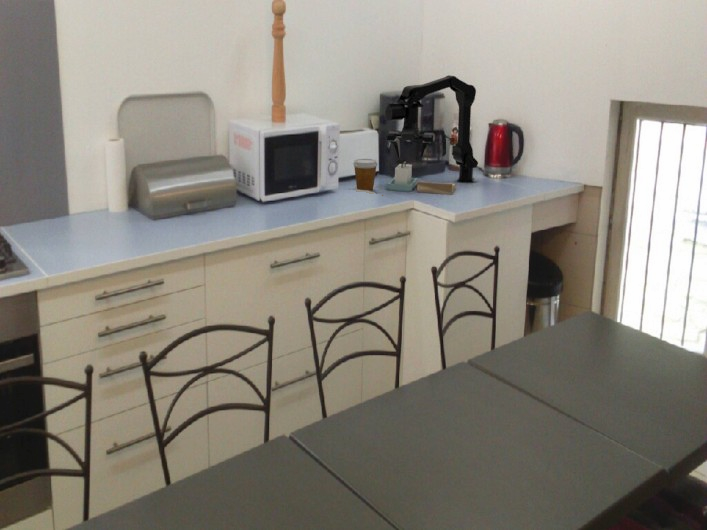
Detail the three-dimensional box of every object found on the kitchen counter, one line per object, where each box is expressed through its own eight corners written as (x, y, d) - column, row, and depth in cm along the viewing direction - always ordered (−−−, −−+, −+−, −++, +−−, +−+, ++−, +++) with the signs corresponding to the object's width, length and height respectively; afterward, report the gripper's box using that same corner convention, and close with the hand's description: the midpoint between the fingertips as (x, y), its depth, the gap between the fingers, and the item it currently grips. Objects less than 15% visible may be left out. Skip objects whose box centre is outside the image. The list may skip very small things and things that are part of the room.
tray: (394, 182, 314) (394, 176, 314) (417, 184, 312) (417, 178, 311) (387, 189, 302) (387, 183, 301) (411, 191, 300) (411, 185, 299)
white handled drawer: (399, 183, 311) (399, 160, 308) (411, 184, 310) (411, 161, 307) (394, 187, 303) (395, 164, 300) (406, 188, 302) (407, 165, 299)
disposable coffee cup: (362, 187, 306) (362, 157, 302) (381, 190, 301) (382, 160, 297) (348, 191, 299) (348, 161, 295) (367, 194, 294) (368, 164, 290)
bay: (421, 186, 309) (422, 176, 307) (455, 188, 305) (455, 178, 304) (417, 192, 299) (417, 182, 298) (451, 194, 296) (452, 184, 294)
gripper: (383, 121, 294) (383, 161, 300) (431, 122, 290) (430, 163, 295) (389, 117, 305) (389, 155, 310) (435, 118, 300) (434, 157, 305)
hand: (410, 158), depth 305 cm, fingers open, 9 cm apart
